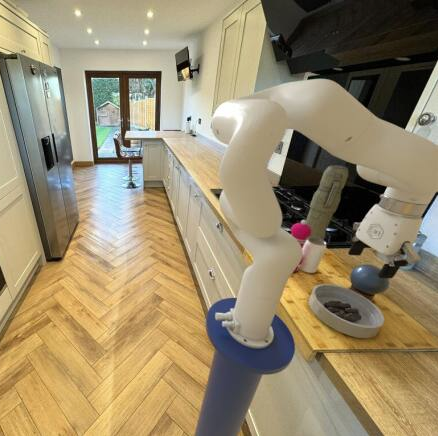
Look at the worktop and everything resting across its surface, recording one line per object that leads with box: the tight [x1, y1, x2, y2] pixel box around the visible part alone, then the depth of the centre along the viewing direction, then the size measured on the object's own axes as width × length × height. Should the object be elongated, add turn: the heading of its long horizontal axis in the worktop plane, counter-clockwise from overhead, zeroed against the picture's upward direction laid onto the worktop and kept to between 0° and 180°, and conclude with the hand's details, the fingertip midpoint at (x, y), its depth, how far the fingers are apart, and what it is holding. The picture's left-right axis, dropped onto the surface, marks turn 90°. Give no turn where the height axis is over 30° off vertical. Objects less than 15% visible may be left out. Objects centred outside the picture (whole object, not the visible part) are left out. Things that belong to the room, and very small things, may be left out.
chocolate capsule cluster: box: [324, 301, 362, 322], centre depth 68 cm, size 9×7×2 cm
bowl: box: [307, 283, 385, 339], centre depth 68 cm, size 16×16×4 cm
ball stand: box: [348, 264, 390, 302], centre depth 74 cm, size 9×9×12 cm
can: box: [298, 237, 327, 274], centre depth 86 cm, size 6×6×12 cm
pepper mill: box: [290, 219, 311, 274], centre depth 84 cm, size 7×7×20 cm
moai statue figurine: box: [302, 164, 349, 248], centre depth 96 cm, size 9×12×35 cm
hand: (368, 265), depth 62 cm, fingers open, 9 cm apart
